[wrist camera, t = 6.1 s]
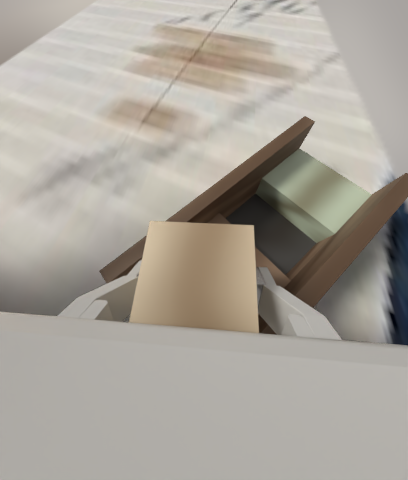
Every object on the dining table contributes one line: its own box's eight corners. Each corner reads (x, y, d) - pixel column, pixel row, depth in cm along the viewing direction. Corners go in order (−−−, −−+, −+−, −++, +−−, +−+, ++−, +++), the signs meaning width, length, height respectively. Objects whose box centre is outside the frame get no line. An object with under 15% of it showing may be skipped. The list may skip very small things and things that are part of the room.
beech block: (175, 314, 13) (125, 339, 5) (181, 260, 14) (150, 220, 7) (230, 318, 13) (259, 351, 5) (230, 263, 14) (253, 225, 7)
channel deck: (130, 270, 17) (91, 258, 12) (273, 158, 22) (294, 110, 16) (215, 393, 13) (219, 465, 8) (367, 223, 18) (438, 190, 12)
